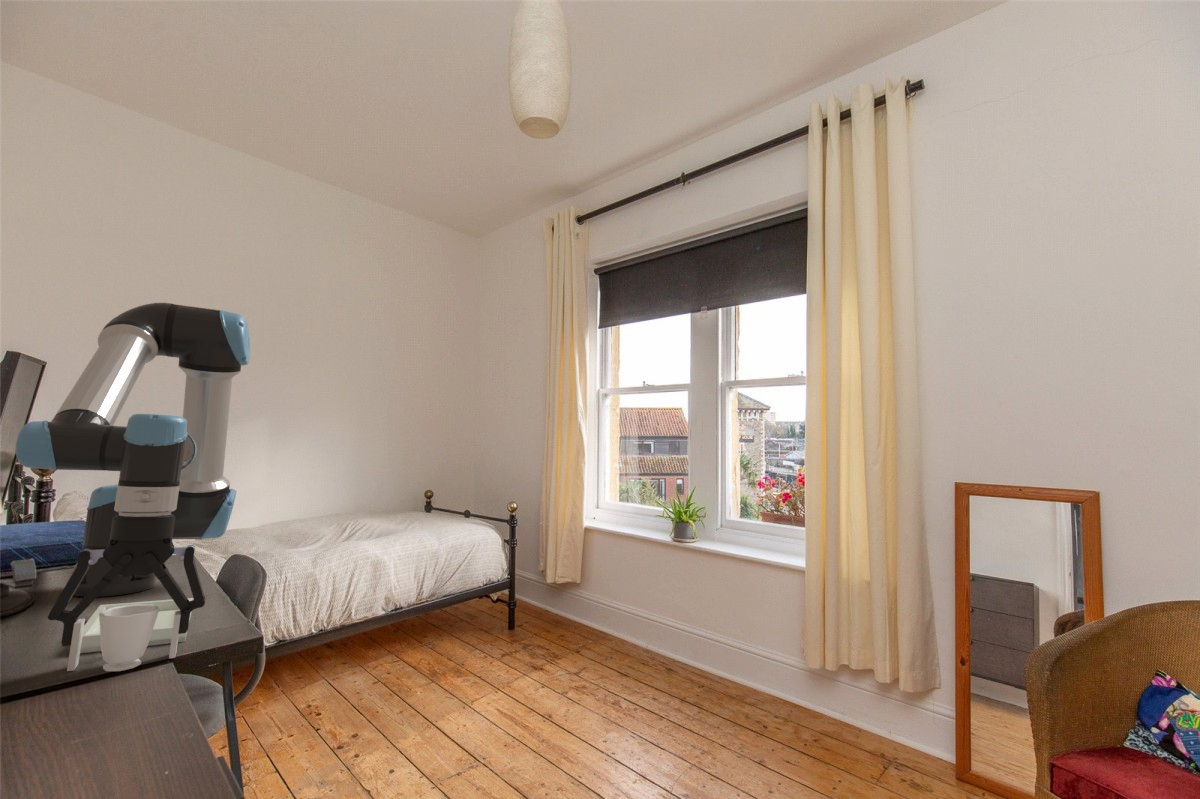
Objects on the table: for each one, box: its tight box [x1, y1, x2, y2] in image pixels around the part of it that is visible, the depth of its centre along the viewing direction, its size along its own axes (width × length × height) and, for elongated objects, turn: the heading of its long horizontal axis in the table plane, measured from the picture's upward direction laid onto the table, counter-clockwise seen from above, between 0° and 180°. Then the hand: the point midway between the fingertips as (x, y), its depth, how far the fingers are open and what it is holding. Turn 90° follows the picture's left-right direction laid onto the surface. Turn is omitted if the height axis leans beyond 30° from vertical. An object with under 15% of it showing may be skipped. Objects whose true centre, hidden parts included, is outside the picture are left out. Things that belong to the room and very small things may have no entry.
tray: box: [80, 597, 194, 654], centre depth 97 cm, size 20×14×2 cm
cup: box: [99, 604, 160, 672], centre depth 83 cm, size 7×10×8 cm
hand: (124, 661), depth 83 cm, fingers open, 11 cm apart
